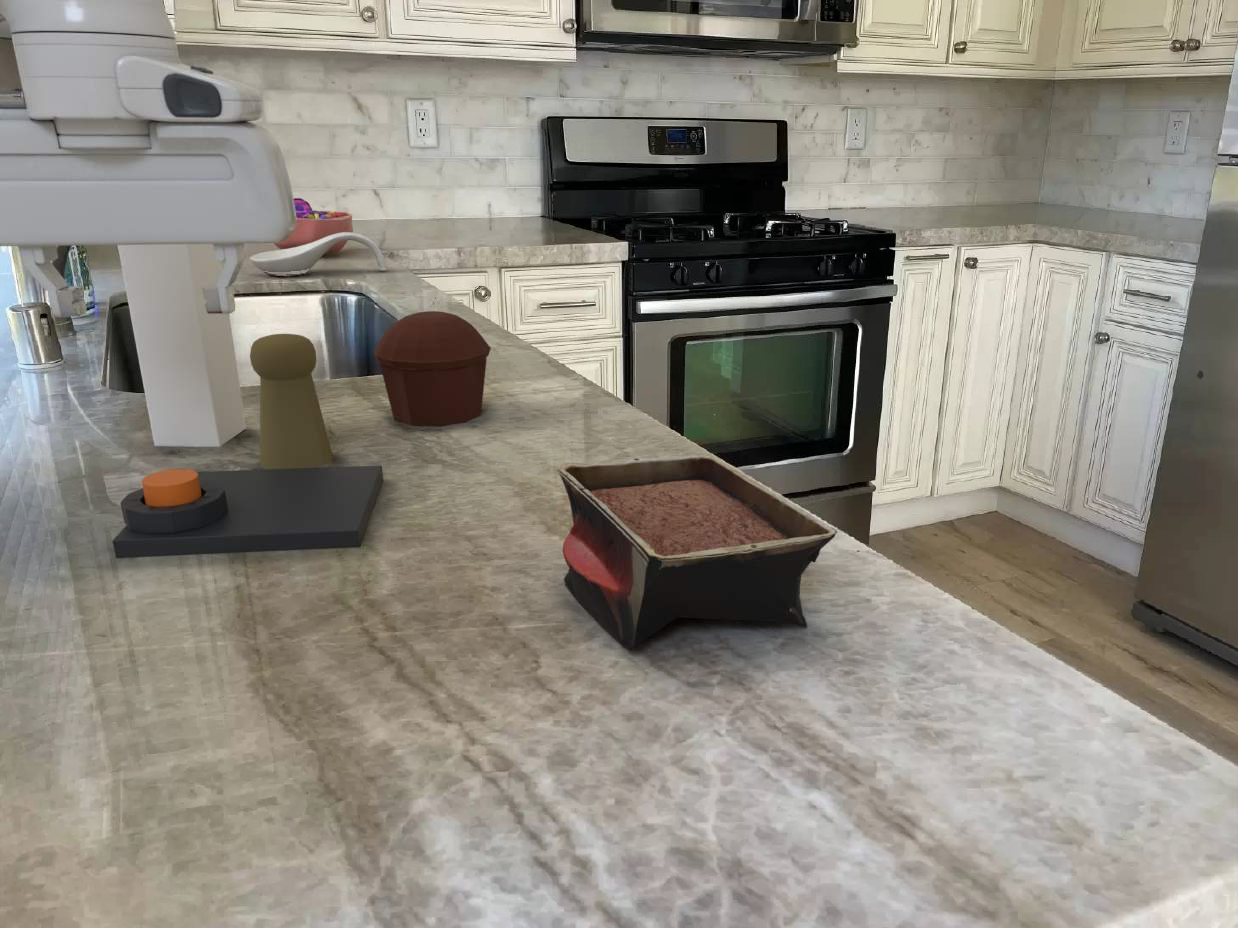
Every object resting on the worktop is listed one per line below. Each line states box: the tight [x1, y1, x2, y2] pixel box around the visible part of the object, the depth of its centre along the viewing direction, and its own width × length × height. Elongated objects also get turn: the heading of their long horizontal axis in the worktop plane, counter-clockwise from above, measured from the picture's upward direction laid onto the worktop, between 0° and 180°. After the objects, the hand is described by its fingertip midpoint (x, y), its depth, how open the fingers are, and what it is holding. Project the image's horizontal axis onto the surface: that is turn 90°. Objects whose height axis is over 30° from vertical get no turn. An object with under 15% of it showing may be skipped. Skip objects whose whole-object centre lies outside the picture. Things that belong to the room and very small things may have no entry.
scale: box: [111, 465, 384, 559], centre depth 76 cm, size 16×14×3 cm
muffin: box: [372, 310, 492, 427], centre depth 101 cm, size 12×11×10 cm
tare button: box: [141, 468, 202, 507], centre depth 71 cm, size 4×4×2 cm
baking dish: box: [556, 454, 838, 651], centre depth 62 cm, size 14×18×10 cm
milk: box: [117, 244, 247, 448], centre depth 90 cm, size 6×6×22 cm
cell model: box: [273, 197, 354, 256], centre depth 210 cm, size 17×20×11 cm
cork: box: [249, 333, 334, 469], centre depth 86 cm, size 6×6×11 cm
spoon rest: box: [249, 232, 387, 276], centre depth 188 cm, size 24×12×7 cm, turn 111°
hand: (147, 314), depth 68 cm, fingers open, 8 cm apart
